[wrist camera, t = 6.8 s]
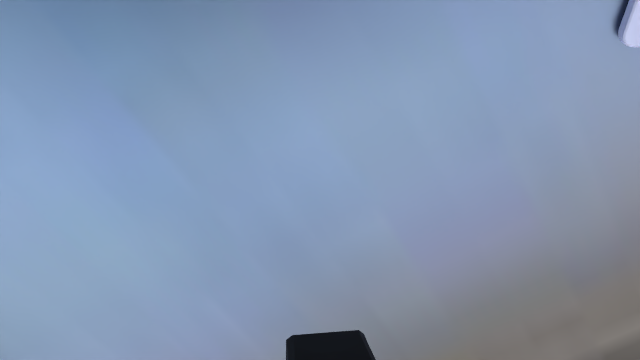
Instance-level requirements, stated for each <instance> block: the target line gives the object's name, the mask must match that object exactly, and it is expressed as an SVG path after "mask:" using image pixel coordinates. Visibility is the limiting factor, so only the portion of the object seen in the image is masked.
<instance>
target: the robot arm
mask: <svg viewBox="0 0 640 360" xmlns="http://www.w3.org/2000/svg"><path fill="white" fill-rule="evenodd" d="M618 37H619V40H620V41H622V42H623V43H624V44H625V45H627V46H629V47H640V0H629V2H628V5H627V8H626V11H625V14H624V16H623V19H622V22H621V25H620V27H619V31H618ZM286 360H376V359H375V357H374V355H373V353H372V351H371V349H370V347H369V345H368V343H367V340H366V338H365V336H364V334H363V333H362V332H360V331H359V330H355V331H342V332H329V333H315V334H302V335H292V336H291V337H290V338H288V339H287V340H286Z"/></svg>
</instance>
